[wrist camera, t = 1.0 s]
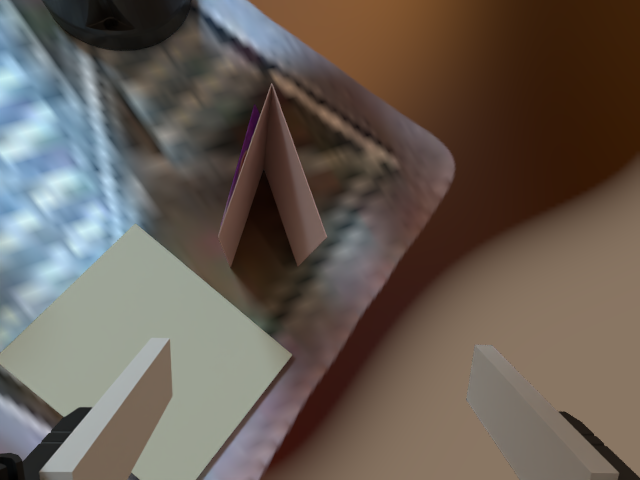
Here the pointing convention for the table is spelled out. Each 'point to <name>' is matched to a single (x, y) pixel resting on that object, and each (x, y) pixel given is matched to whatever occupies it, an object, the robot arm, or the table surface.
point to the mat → (132, 335)
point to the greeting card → (272, 184)
